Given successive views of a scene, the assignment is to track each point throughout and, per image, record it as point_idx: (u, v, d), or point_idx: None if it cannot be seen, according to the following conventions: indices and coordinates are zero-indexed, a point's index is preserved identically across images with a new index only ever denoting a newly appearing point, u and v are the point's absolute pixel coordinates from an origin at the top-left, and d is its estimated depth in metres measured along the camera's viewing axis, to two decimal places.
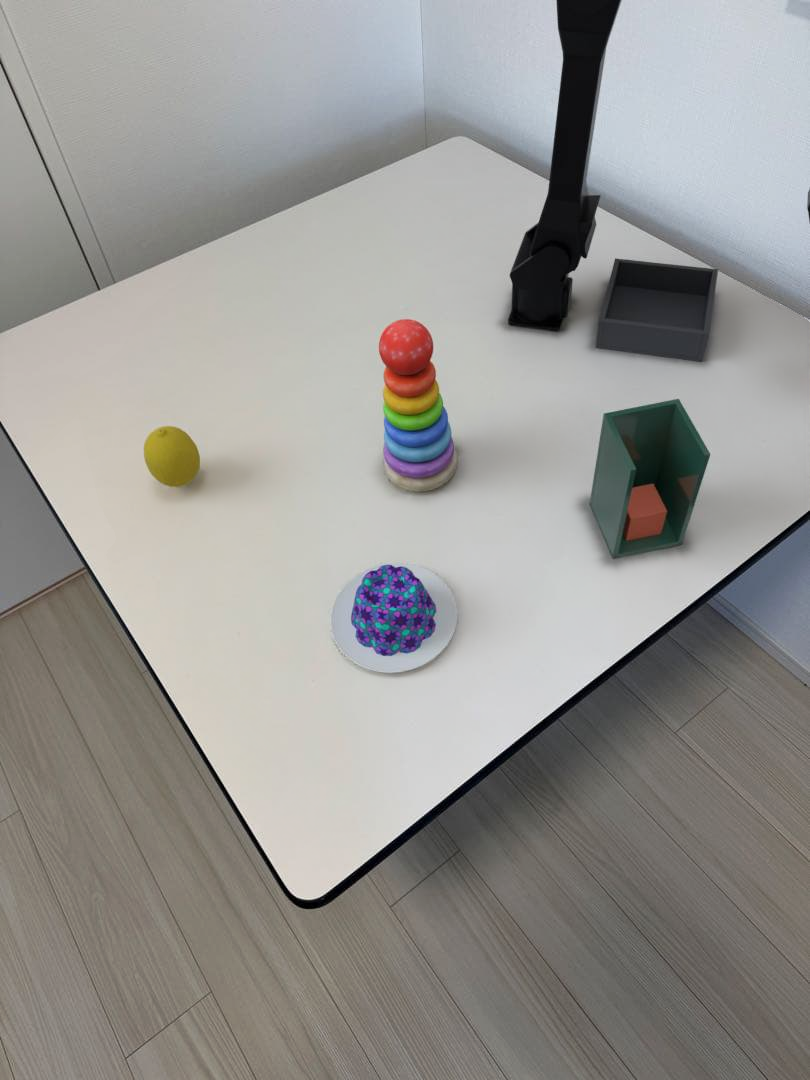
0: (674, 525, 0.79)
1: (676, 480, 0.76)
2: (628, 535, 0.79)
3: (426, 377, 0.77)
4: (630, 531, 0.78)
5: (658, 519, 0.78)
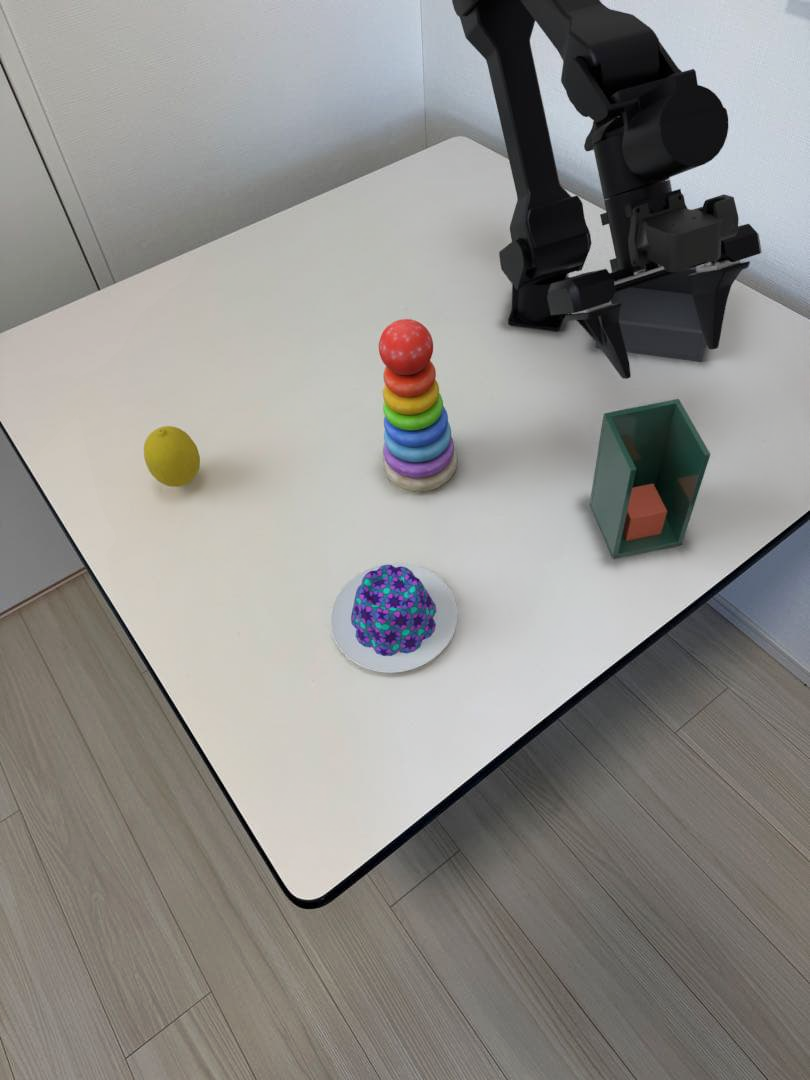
0: (674, 525, 0.79)
1: (676, 480, 0.76)
2: (628, 535, 0.79)
3: (426, 377, 0.77)
4: (630, 531, 0.78)
5: (658, 519, 0.78)
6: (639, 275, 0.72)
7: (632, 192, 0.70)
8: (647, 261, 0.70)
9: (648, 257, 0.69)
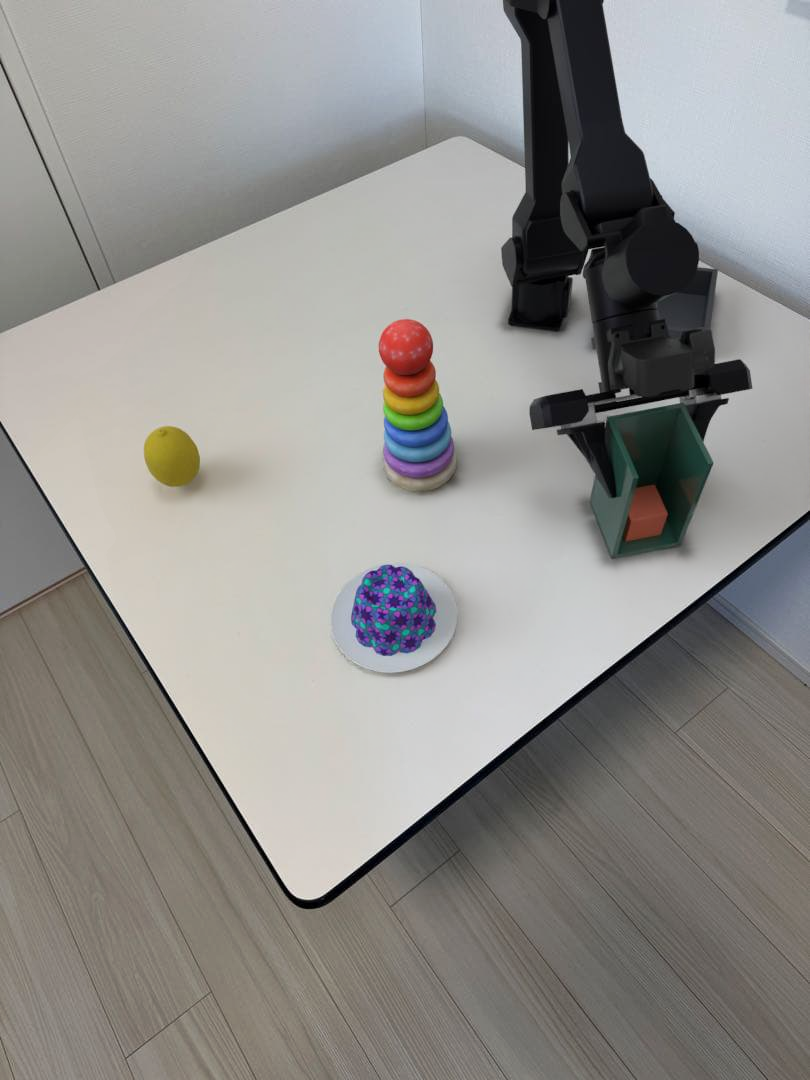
0: (674, 526, 0.79)
1: (678, 483, 0.76)
2: (628, 536, 0.79)
3: (426, 377, 0.77)
4: (630, 532, 0.78)
5: (658, 521, 0.77)
6: (618, 399, 0.71)
7: (614, 318, 0.70)
8: (624, 385, 0.70)
9: (623, 381, 0.69)
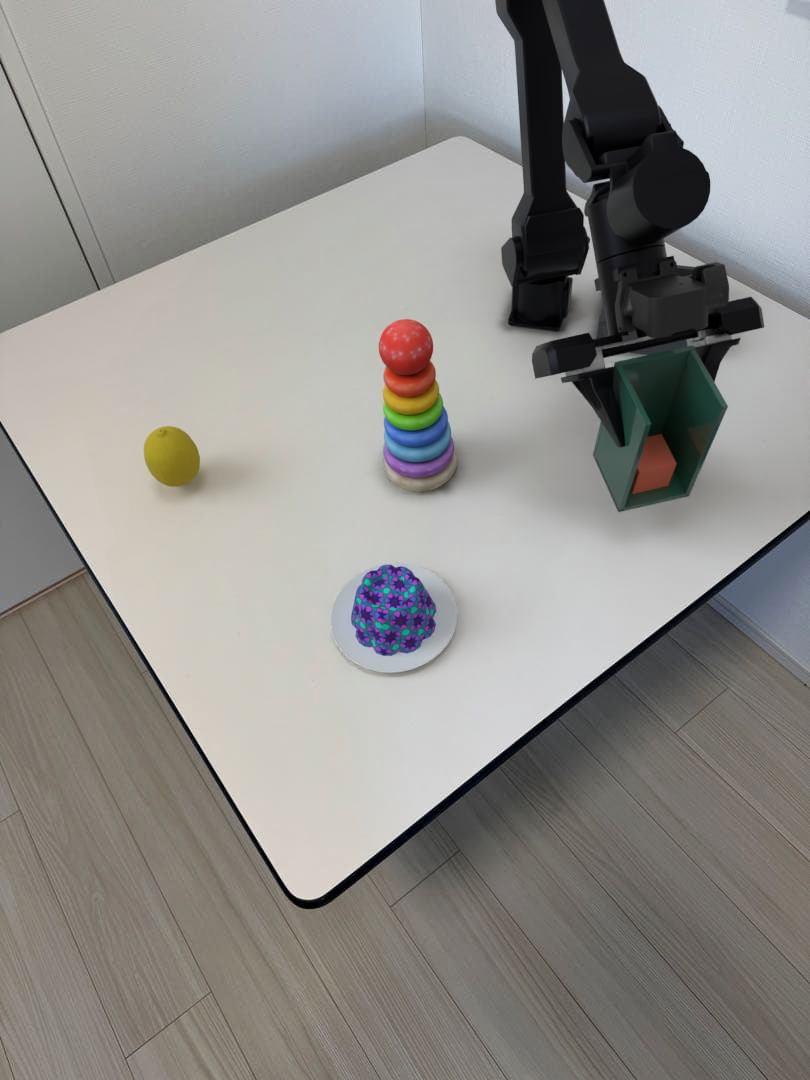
0: (682, 476, 0.76)
1: (687, 431, 0.73)
2: (635, 488, 0.76)
3: (426, 377, 0.77)
4: (637, 484, 0.75)
5: (667, 472, 0.75)
6: (626, 342, 0.68)
7: (621, 256, 0.67)
8: (633, 327, 0.67)
9: (632, 323, 0.66)
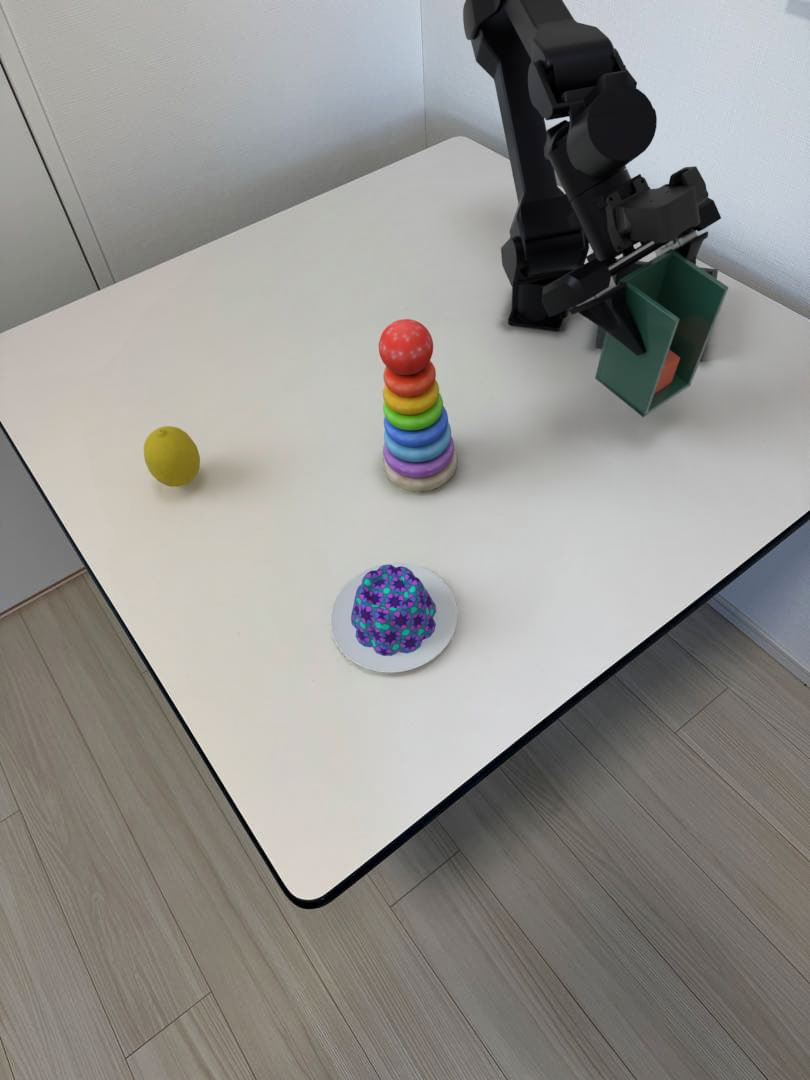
0: (681, 370, 0.85)
1: (680, 326, 0.81)
2: None
3: (426, 377, 0.77)
4: None
5: (673, 368, 0.83)
6: (624, 259, 0.75)
7: (600, 185, 0.73)
8: (631, 243, 0.74)
9: (633, 238, 0.73)
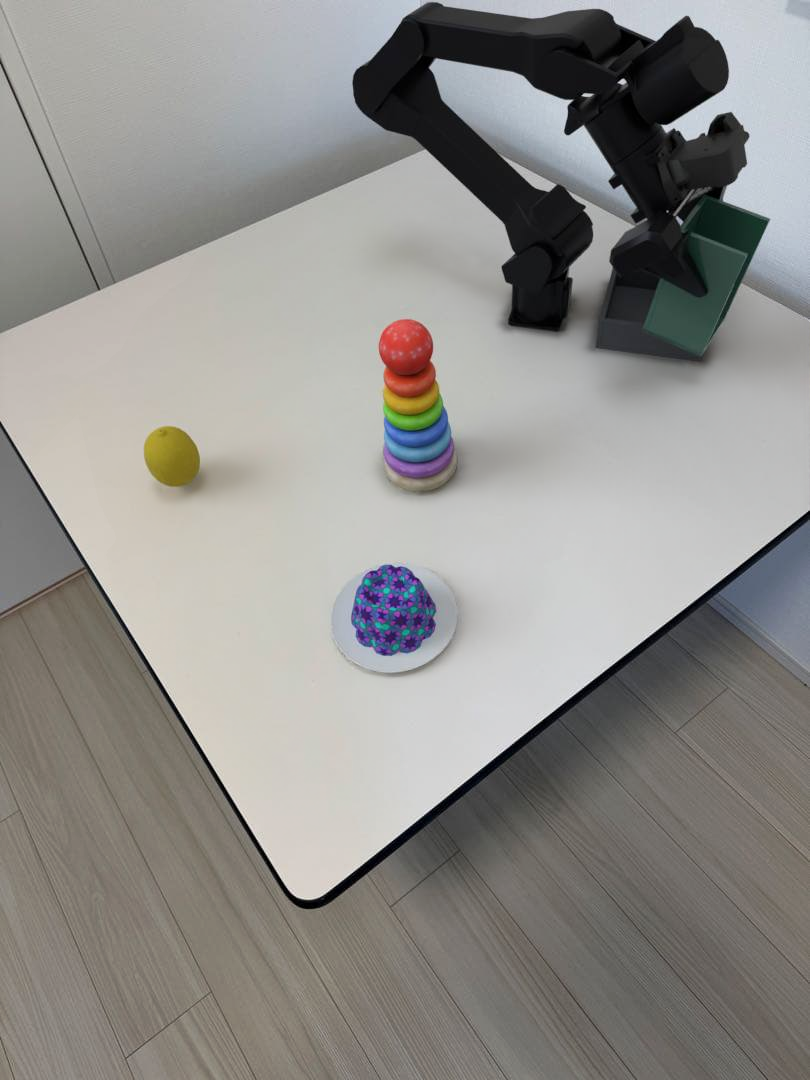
0: None
1: None
2: None
3: (426, 377, 0.77)
4: None
5: None
6: (678, 209, 0.79)
7: (647, 143, 0.77)
8: (686, 193, 0.78)
9: (690, 187, 0.77)
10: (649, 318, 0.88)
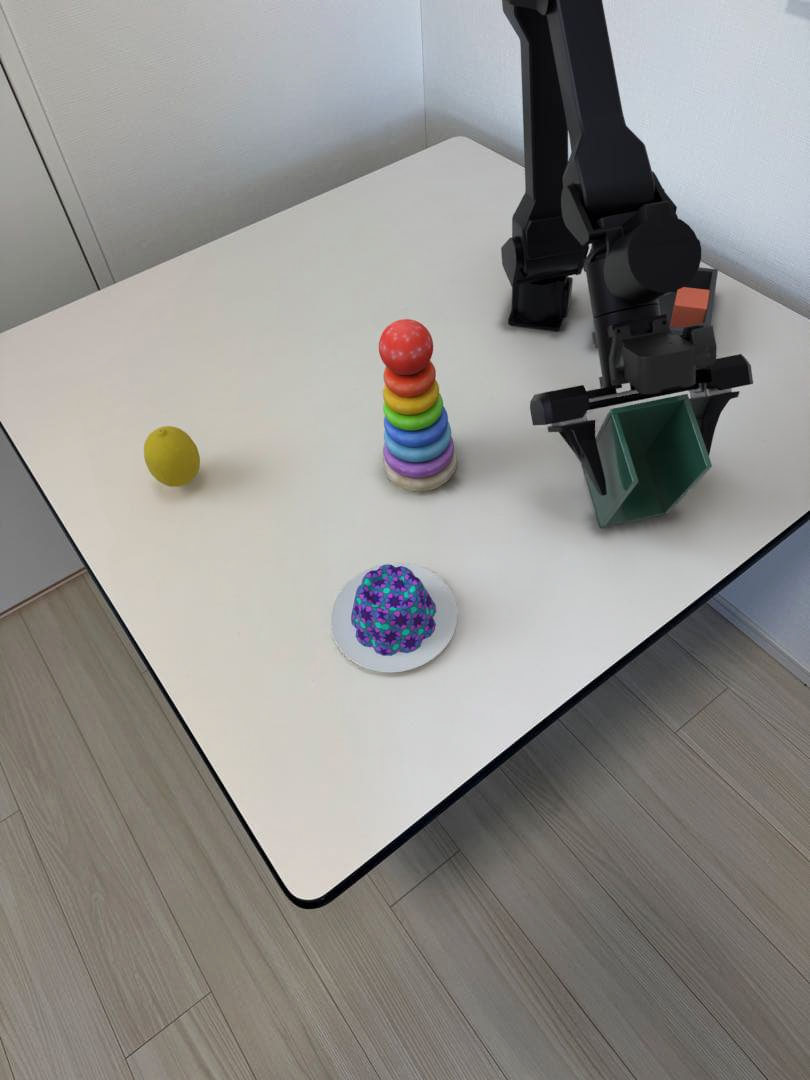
0: (662, 497, 0.81)
1: (672, 464, 0.77)
2: None
3: (426, 377, 0.77)
4: (703, 321, 0.95)
5: None
6: (619, 394, 0.71)
7: (616, 313, 0.70)
8: (625, 381, 0.70)
9: (624, 377, 0.69)
10: None
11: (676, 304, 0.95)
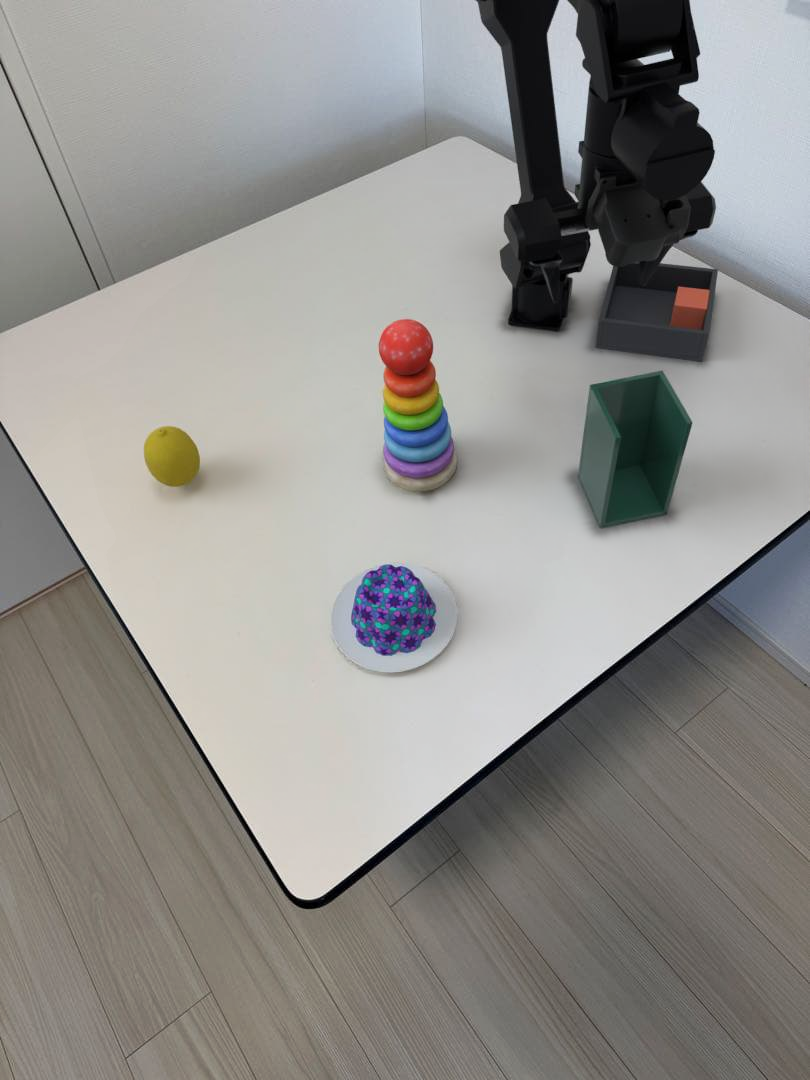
0: (659, 495, 0.81)
1: (661, 450, 0.79)
2: (701, 326, 0.96)
3: (426, 377, 0.77)
4: (703, 321, 0.95)
5: None
6: None
7: (606, 159, 0.69)
8: (598, 227, 0.73)
9: (599, 229, 0.73)
10: (580, 466, 0.84)
11: (676, 304, 0.95)
